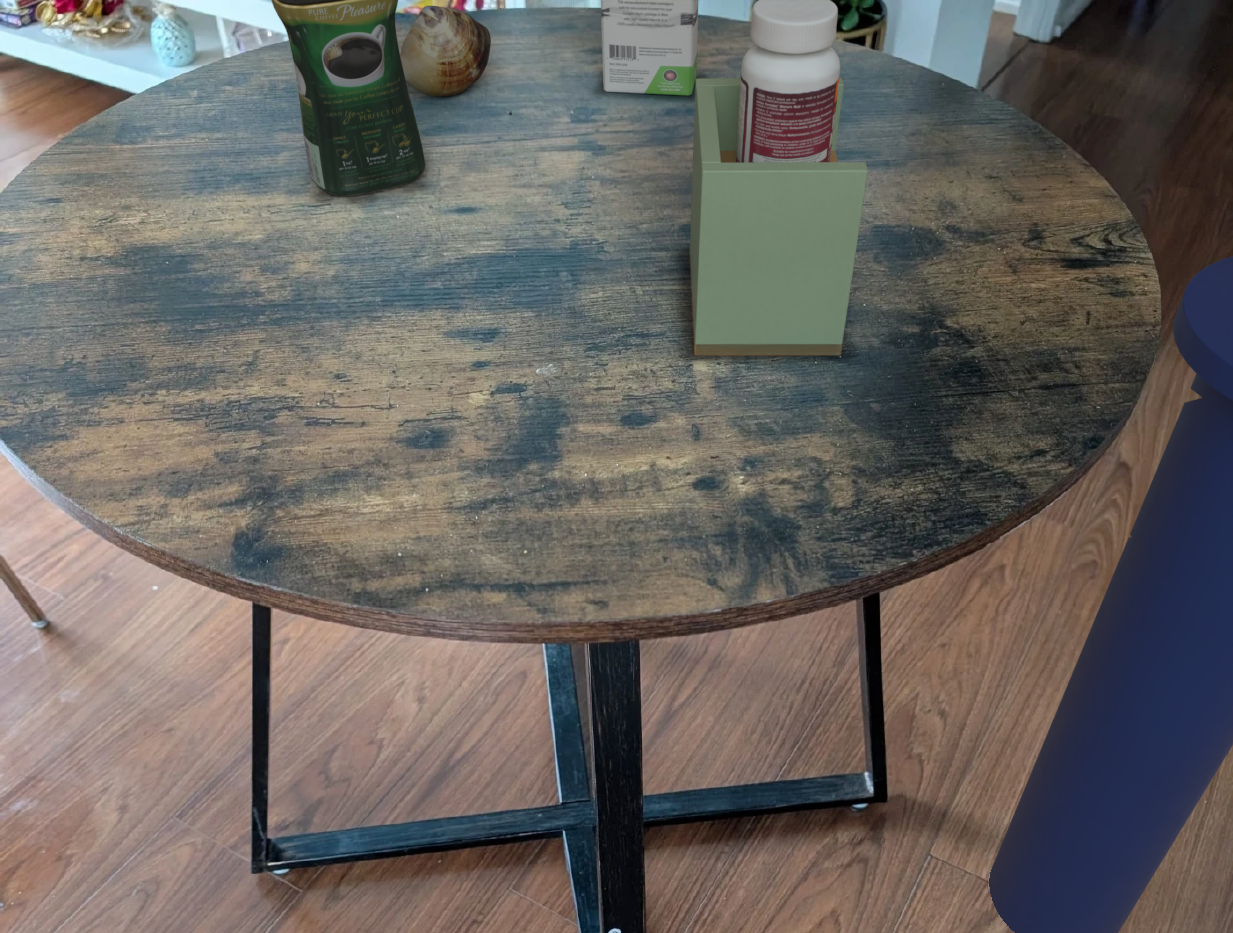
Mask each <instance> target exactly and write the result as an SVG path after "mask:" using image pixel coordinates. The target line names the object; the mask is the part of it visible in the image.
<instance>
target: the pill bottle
mask: <svg viewBox="0 0 1233 933" xmlns="http://www.w3.org/2000/svg"><path fill="white" fill-rule="evenodd" d="M838 15H839V8H838V6H837V5H836V3H835V2H833V1H832V0H757V1H756V2H755V3H754V4H753V6H752V12H751V23H750V24H751V26H750V31H749V38H750V40H751V42H752V43H753V45H752V46H751V47H750V48H748V50H747V51H746V52H745V54H744V56H743V58H742V61H741V67H740V68H741V69H740V78H741V81H740V97H739V115H738V132H737V150H736V163H766V162H830V156H831V147H832V139H833V130H834V122H835V114H836V104H837V95H838V86H839V78H840V74H841V61H840V58H839V55H838V54H837V52H836V51H835V49H834V48H832V45H833V44H834V43H835V42H836V38H837V24H838V17H839V16H838Z"/></svg>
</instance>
